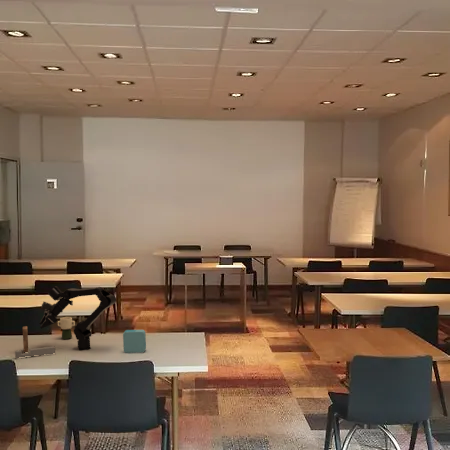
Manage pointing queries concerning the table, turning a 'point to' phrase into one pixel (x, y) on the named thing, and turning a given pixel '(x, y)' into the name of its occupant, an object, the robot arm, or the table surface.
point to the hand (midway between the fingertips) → (40, 326)
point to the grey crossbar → (36, 352)
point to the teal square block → (134, 341)
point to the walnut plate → (25, 339)
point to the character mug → (66, 327)
